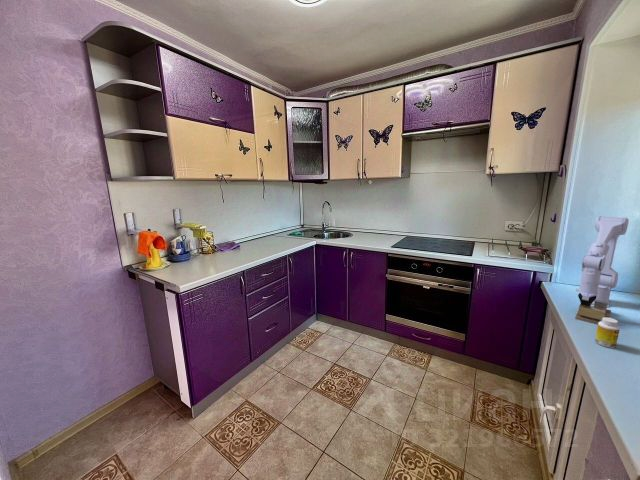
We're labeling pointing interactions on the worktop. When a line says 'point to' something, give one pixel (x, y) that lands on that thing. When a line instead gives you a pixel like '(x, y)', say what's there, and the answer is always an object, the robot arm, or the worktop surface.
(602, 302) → the grey piece
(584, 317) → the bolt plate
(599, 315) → the divider leg
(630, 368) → the worktop surface
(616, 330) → the supplement bottle
